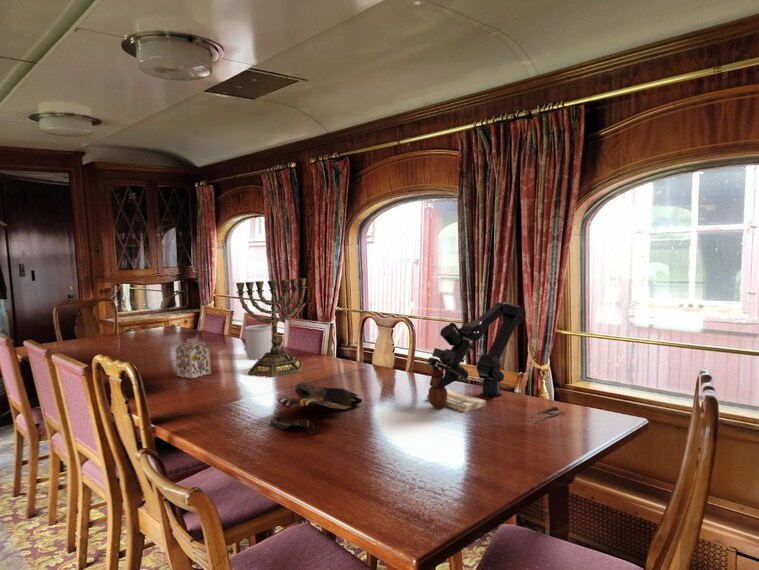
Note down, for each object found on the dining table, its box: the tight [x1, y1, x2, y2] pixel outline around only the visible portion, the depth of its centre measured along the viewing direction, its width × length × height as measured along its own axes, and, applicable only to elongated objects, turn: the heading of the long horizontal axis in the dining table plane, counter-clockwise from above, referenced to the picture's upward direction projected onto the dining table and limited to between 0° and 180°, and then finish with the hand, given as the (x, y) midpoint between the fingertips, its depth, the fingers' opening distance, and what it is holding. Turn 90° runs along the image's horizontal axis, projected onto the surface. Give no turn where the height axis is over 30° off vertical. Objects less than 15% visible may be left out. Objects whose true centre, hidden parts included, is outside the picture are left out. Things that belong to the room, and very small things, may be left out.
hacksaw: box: [524, 406, 566, 430], centre depth 172 cm, size 24×10×2 cm, turn 121°
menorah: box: [235, 278, 307, 378], centre depth 252 cm, size 36×25×45 cm
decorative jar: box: [174, 337, 212, 380], centre depth 248 cm, size 12×12×18 cm
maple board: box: [426, 388, 487, 413], centre depth 192 cm, size 11×20×2 cm, turn 36°
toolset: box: [270, 381, 364, 436], centre depth 183 cm, size 40×20×27 cm
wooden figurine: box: [428, 366, 448, 409], centre depth 186 cm, size 7×6×15 cm
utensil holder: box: [243, 324, 273, 360], centre depth 286 cm, size 15×15×18 cm
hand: (434, 386), depth 186 cm, fingers closed on wooden figurine, 5 cm apart
